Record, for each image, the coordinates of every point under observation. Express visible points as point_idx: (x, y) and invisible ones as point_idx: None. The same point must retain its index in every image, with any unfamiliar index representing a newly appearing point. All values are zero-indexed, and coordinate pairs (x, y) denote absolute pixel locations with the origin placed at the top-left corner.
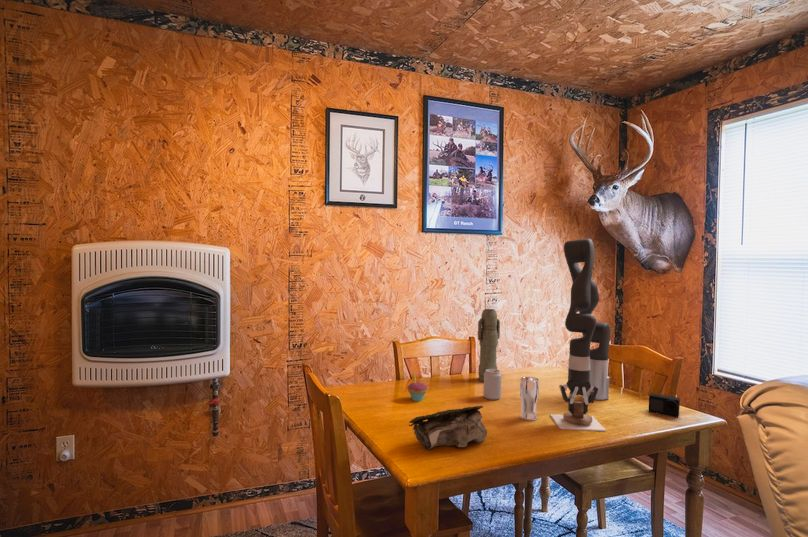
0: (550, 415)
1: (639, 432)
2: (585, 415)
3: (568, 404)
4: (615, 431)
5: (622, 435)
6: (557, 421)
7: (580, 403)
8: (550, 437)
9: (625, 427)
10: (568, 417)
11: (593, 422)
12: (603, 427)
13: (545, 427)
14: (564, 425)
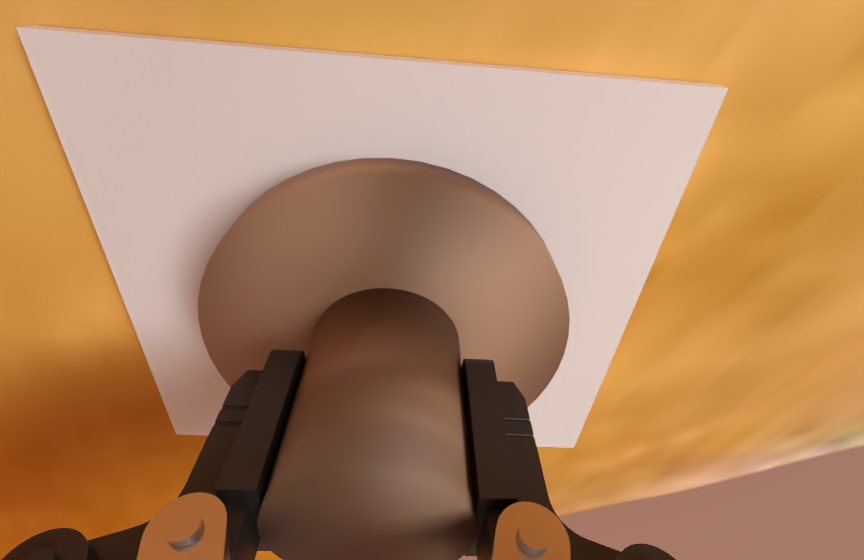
0: (36, 44)
1: (842, 432)
2: (510, 314)
3: (196, 470)
4: (654, 429)
5: (649, 476)
6: (151, 310)
7: (407, 544)
8: (113, 521)
9: (833, 358)
10: None
11: (571, 309)
12: (589, 407)
13: (47, 400)
14: (223, 391)
